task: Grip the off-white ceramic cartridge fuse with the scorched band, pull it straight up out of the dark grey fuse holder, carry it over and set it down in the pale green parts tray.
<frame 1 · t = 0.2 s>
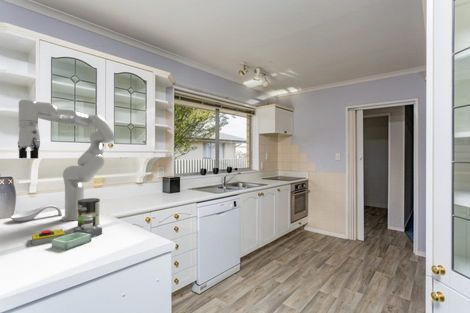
hand: (28, 158, 123), 37 cm above the counter, tool pointing down, fingers open, 9 cm apart
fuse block: (88, 234, 116), on the counter
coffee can: (88, 226, 131), on the counter
tray: (72, 243, 104), on the counter
spoon rest: (37, 219, 145), on the counter
emergency button: (49, 240, 110), on the counter
fuse: (88, 234, 116), resting in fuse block
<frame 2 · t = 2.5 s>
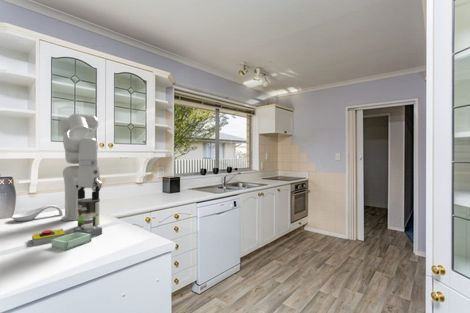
hand: (88, 199, 116), 17 cm above the counter, tool pointing down, fingers open, 9 cm apart
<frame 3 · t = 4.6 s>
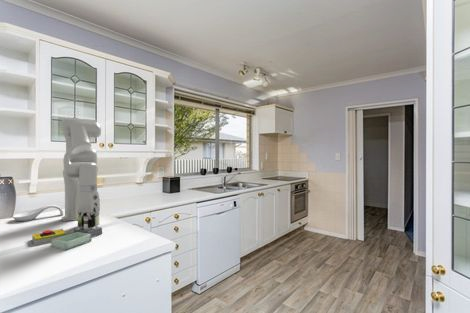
hand: (88, 226, 116), 4 cm above the counter, tool pointing down, fingers closed on fuse, 3 cm apart
fuse: (88, 234, 116), resting in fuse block, touching gripper
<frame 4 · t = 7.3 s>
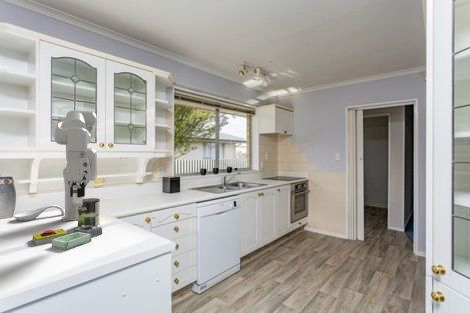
hand: (77, 196, 108), 20 cm above the counter, tool pointing down, fingers closed on fuse, 3 cm apart
fuse: (77, 205, 108), point 16 cm above the counter, touching gripper
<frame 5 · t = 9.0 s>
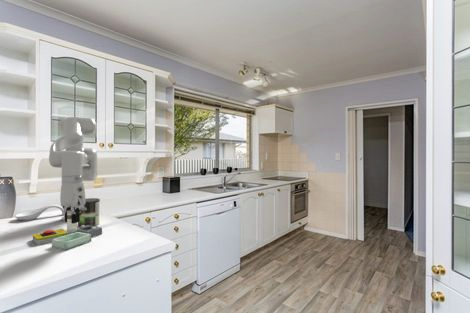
hand: (72, 221, 104), 10 cm above the counter, tool pointing down, fingers closed on fuse, 3 cm apart
fuse: (72, 231, 104), point 6 cm above the counter, touching gripper
when the fingers open (6 cm above the counter, at t = 10.3 s): fuse drops 1 cm, resting on tray.
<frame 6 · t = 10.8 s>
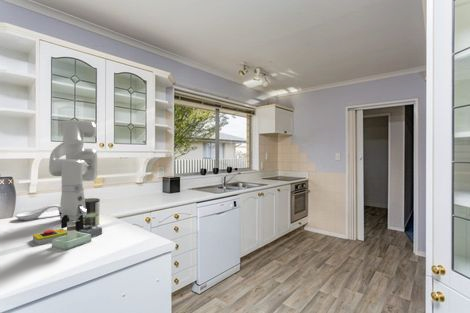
hand: (72, 228, 104), 7 cm above the counter, tool pointing down, fingers open, 8 cm apart
fuse: (72, 242, 104), point 1 cm above the counter, touching tray
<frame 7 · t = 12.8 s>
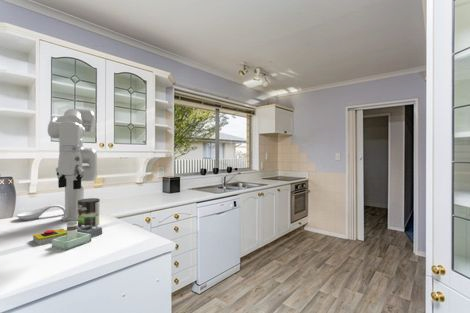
hand: (69, 188, 108), 24 cm above the counter, tool pointing down, fingers open, 9 cm apart
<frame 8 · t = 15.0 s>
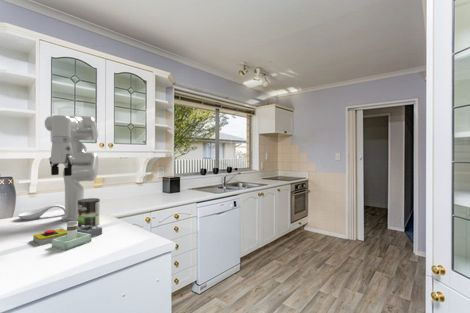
hand: (61, 175, 119), 28 cm above the counter, tool pointing down, fingers open, 9 cm apart
at the end: fuse inside the target area on the tray (0.1 cm from its centre), point 0.6 cm above the tray's base; fuse touching tray; the gripper is holding nothing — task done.
